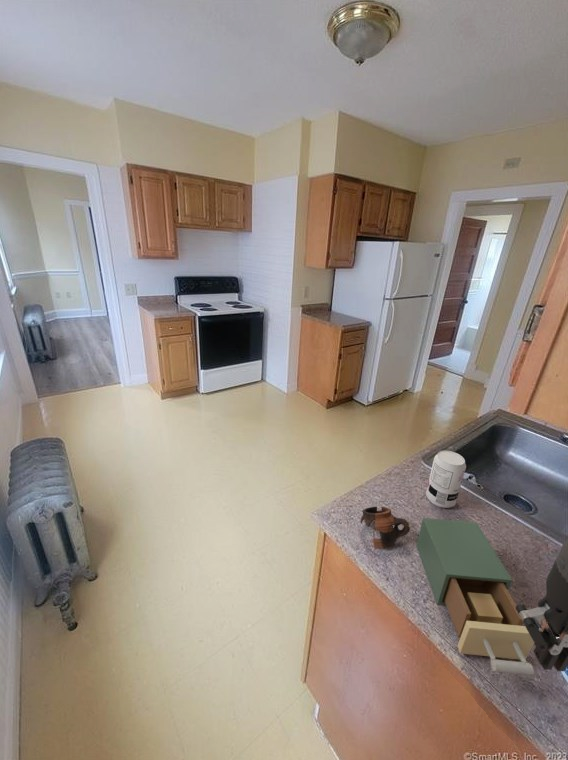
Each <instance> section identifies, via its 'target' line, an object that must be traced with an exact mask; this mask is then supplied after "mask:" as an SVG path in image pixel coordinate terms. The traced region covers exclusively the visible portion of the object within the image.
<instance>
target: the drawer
mask: <svg viewBox="0 0 568 760" xmlns="http://www.w3.org/2000/svg"><path fill="white" fill-rule="evenodd" d="M468 592H471V593H482V594H491V596H492V598H493V600H494V601H495V603H496V605H497V607H498V609H499V611H500V613H501V615H502V617H503V619H502V621H501V624H496V623H486V622H476V621H469V619H470V617H471V612H470V610H469V608H468V605H467V603H466V601H465V599H466V596H467V593H468ZM443 598H444V601H445V603H446V605H445V606H446V608H447V611H448V614H449V616H450V619H451V621H452V624H453V627H454V629H455V632H456V635H457V637H458V638H459V640H458V643H457V649H458V651H459V654H463V655H464V654H465V655H472V656H473V655H474V656H482V657H483V656H484V657H489V659H490V667H491V669H492V671H494V672H498V673H508V674H516V675H517V674H518V675H527V676H534V675H535V669H534V667H533V665H532V664H531V663H530V662H528V661H527V658H528V656H529V655H530V652H531V650H532V648H533V646H534V644H535V643H534V641H533V639H532V638H531V636H530V634H529V632H528V631H527V629H526V627H525V625H524V623H523V621H522V619H521V618H520V616H519V614H518V612H517V610H516V606H517V605H518V604H517V603H516V602H515V601H514V598H513V597H512V595H511V593H510V592H509V589H508V590H507V588H506V586H505V585H504V583H503V582H495V581H484V580H473V579H462V578H451V577H449V581H448V584H447V587H446V590H445V594H444V597H443ZM497 658H501V659H497ZM502 658H503V659H502ZM505 659H512V660H505ZM514 660H515V661H514ZM516 660H519V661H516Z"/></svg>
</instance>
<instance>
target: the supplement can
mask: <svg viewBox="0 0 568 760" xmlns="http://www.w3.org/2000/svg"><path fill="white" fill-rule="evenodd" d="M466 469H467V464H466V460H465V458H464V457H463V456H462V455H461V454H459V453H457V452H455V451H451V450H440V451H438V452H437V454H435V456H434V458H433V461H432V466H431V470H430V474H429V478H428V483H427V487H426V491H425V495H426V498H427V499H428V500H429V502H430V503H432V504H433V505H435V506H437V507H439V508H441V509H442V508H443V509H450V508H453V507H454V506H456V504H457V500H458V497H459V494H460V490H461V486H462V483H463V479H464V476H465V473H466Z"/></svg>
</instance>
